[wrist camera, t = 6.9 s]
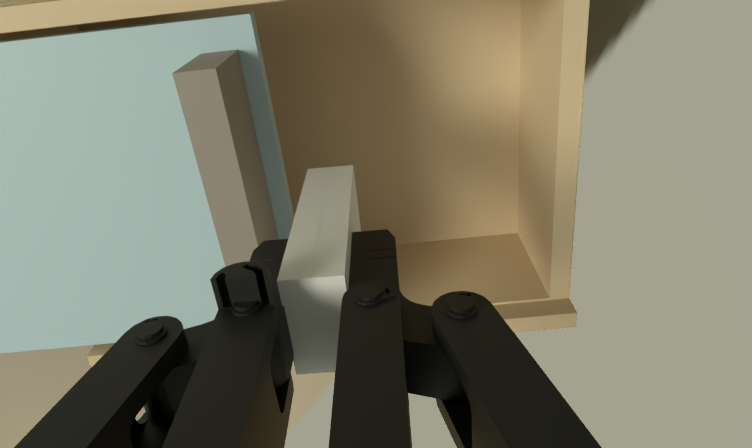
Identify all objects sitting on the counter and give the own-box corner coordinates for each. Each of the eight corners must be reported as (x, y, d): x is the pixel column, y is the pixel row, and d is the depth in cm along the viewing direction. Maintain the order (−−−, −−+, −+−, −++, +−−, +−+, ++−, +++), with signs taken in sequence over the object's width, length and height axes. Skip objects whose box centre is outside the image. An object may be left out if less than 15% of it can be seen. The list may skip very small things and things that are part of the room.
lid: (-317, 77, 18) (-454, 105, 15) (253, 11, 17) (229, 27, 14) (-126, 356, 24) (-198, 416, 21) (313, 316, 23) (305, 373, 20)
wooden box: (56, -7, 23) (-69, 15, 16) (537, -64, 22) (606, -64, 16) (154, 273, 29) (92, 369, 23) (529, 237, 29) (575, 326, 22)
